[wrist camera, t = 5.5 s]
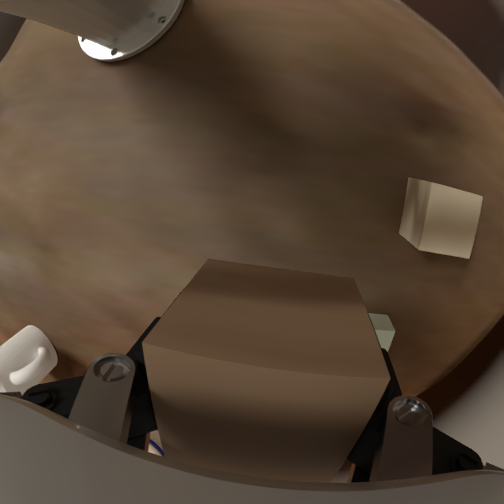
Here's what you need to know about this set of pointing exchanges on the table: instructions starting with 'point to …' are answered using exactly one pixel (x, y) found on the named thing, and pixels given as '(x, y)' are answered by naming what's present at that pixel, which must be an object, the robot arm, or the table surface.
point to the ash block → (440, 218)
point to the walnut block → (264, 372)
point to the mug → (25, 360)
